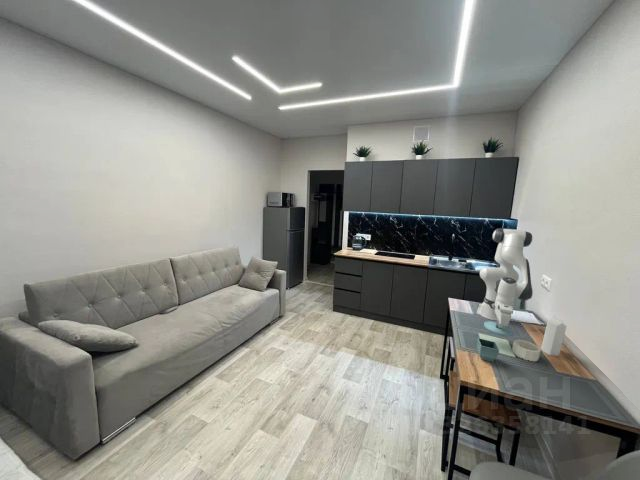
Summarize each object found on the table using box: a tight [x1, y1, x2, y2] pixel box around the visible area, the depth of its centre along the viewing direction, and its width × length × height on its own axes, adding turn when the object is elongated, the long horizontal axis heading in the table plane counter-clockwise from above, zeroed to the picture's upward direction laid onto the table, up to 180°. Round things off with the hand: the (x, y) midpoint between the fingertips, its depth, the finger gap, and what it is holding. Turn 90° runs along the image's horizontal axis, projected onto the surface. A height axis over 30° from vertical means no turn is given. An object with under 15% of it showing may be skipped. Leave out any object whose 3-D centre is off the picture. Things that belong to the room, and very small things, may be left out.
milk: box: [540, 316, 567, 356], centre depth 153 cm, size 6×6×22 cm
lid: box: [483, 320, 514, 337], centre depth 157 cm, size 15×15×5 cm
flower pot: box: [476, 337, 499, 362], centre depth 143 cm, size 9×9×9 cm
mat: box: [478, 332, 517, 359], centre depth 158 cm, size 20×16×1 cm
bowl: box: [511, 339, 542, 362], centre depth 150 cm, size 12×12×6 cm
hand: (499, 325), depth 157 cm, fingers closed on lid, 3 cm apart
